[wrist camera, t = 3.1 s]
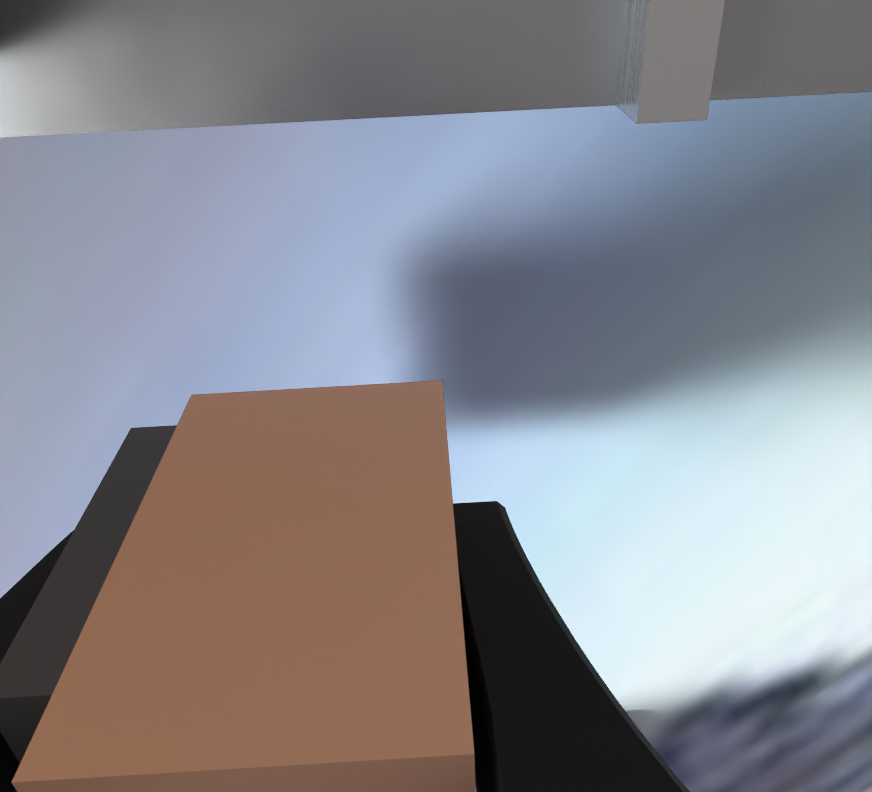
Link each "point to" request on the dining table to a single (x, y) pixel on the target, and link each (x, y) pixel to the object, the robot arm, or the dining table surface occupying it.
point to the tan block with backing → (255, 608)
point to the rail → (411, 58)
